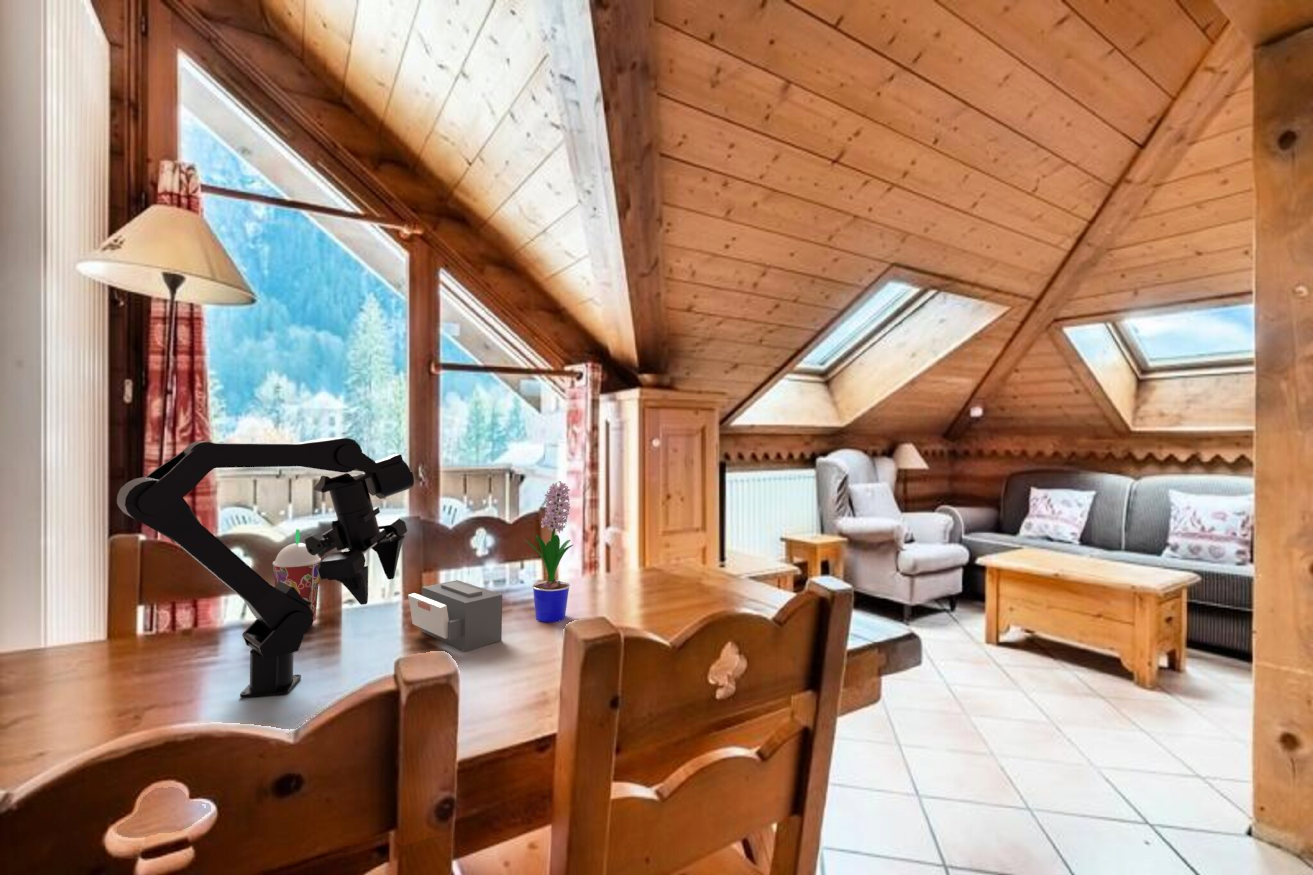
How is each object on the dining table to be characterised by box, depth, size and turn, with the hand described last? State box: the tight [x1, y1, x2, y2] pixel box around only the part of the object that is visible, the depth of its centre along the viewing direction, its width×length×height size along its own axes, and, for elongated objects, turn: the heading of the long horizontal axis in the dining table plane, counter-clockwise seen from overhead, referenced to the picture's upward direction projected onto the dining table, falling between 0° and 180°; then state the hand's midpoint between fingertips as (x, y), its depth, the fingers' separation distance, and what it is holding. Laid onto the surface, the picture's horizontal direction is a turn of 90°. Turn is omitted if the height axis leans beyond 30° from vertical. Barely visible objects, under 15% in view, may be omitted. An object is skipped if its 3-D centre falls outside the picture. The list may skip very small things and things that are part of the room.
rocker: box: [407, 592, 449, 639], centre depth 113 cm, size 1×12×6 cm, turn 49°
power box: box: [420, 579, 503, 652], centre depth 118 cm, size 10×16×10 cm, turn 50°
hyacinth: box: [524, 480, 574, 623], centre depth 131 cm, size 9×10×30 cm
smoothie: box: [272, 529, 322, 628], centre depth 121 cm, size 8×8×20 cm
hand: (378, 590), depth 106 cm, fingers open, 9 cm apart
